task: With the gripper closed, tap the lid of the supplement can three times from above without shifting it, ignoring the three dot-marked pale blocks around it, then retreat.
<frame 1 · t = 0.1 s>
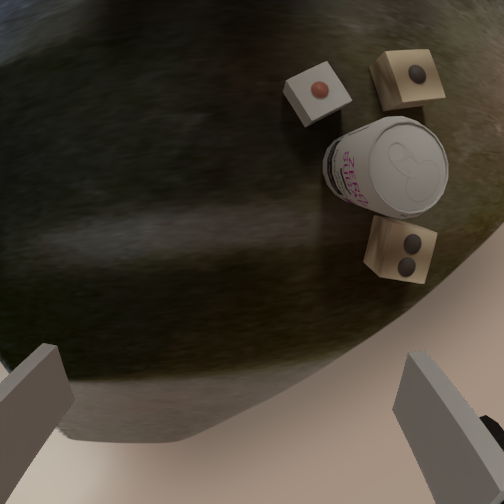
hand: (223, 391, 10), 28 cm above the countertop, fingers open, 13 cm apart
grey plastic block: (312, 100, 33), on the countertop
maple block 2: (396, 86, 32), on the countertop
supplement can: (354, 168, 35), on the countertop
maple block 1: (389, 242, 37), on the countertop
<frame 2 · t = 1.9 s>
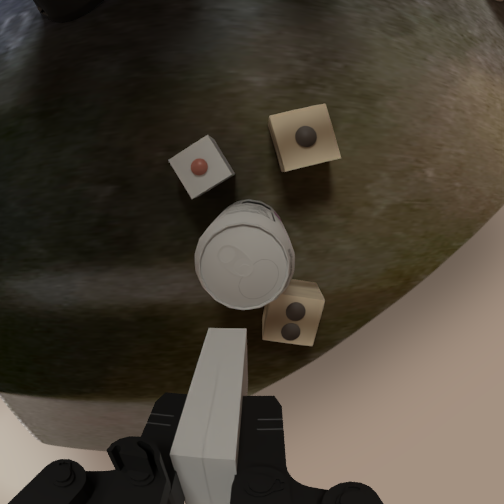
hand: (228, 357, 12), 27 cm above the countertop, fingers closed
grey plastic block: (207, 167, 37), on the countertop
maple block 2: (298, 142, 36), on the countertop
supplement can: (249, 232, 39), on the countertop
maple block 1: (288, 300, 41), on the countertop
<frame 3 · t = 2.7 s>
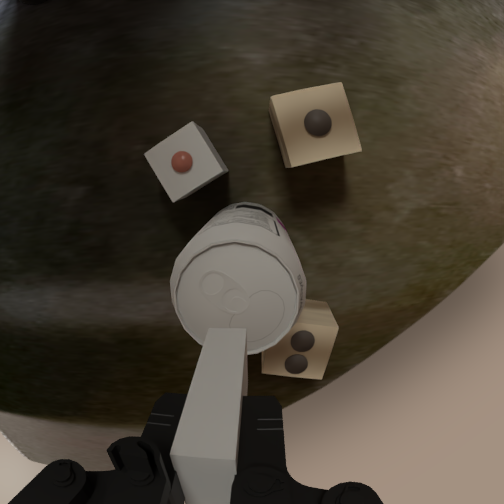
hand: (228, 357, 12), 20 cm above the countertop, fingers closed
grey plastic block: (194, 163, 30), on the countertop
maple block 2: (306, 131, 29), on the countertop
supplement can: (246, 241, 32), on the countertop
maple block 1: (293, 322, 34), on the countertop
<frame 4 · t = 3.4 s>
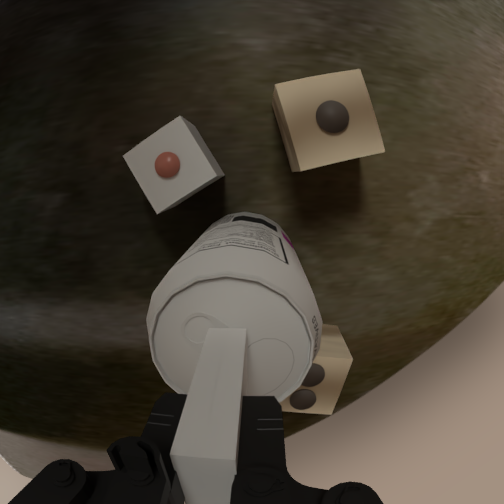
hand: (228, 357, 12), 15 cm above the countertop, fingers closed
grey plastic block: (184, 166, 26), on the countertop
maple block 2: (316, 129, 25), on the countertop
supplement can: (245, 258, 27), on the countertop, touching gripper
maple block 1: (299, 348, 29), on the countertop
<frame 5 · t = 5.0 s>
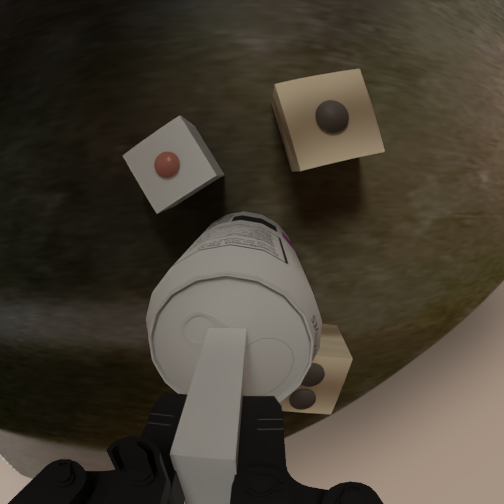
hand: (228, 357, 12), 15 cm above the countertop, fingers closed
grey plastic block: (184, 165, 26), on the countertop
maple block 2: (316, 128, 25), on the countertop
supplement can: (245, 258, 27), on the countertop, touching gripper
maple block 1: (299, 348, 29), on the countertop
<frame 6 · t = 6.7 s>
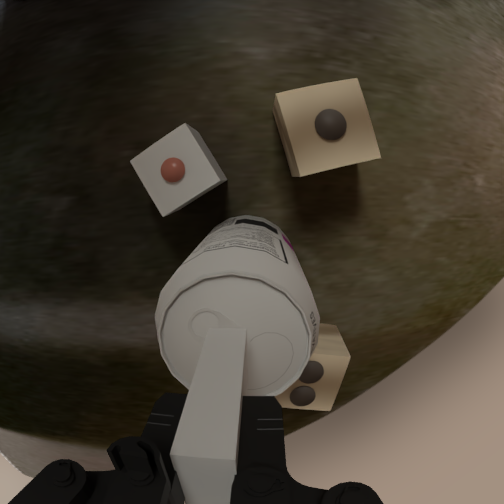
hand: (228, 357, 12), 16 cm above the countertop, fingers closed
grey plastic block: (188, 170, 27), on the countertop
maple block 2: (315, 135, 26), on the countertop
supplement can: (247, 259, 29), on the countertop
maple block 1: (299, 347, 30), on the countertop
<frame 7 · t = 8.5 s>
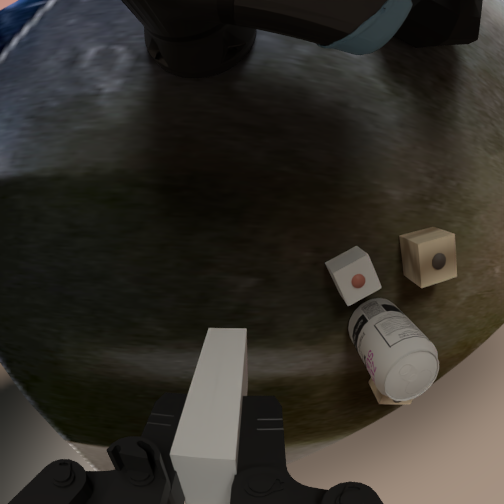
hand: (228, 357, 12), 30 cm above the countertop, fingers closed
grey plastic block: (347, 269, 43), on the countertop
maple block 2: (418, 250, 42), on the countertop
supplement can: (372, 321, 44), on the countertop
maple block 1: (390, 368, 46), on the countertop
bottle: (409, 16, 34), on the countertop
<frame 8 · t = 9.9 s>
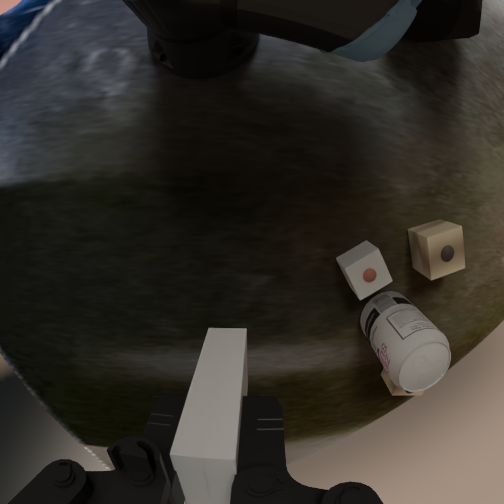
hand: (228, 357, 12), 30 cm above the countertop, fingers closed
grey plastic block: (358, 264, 43), on the countertop
maple block 2: (426, 243, 42), on the countertop
supplement can: (383, 314, 45), on the countertop
maple block 1: (401, 360, 47), on the countertop
bottle: (409, 11, 33), on the countertop
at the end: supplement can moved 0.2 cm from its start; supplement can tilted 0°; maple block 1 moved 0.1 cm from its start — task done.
